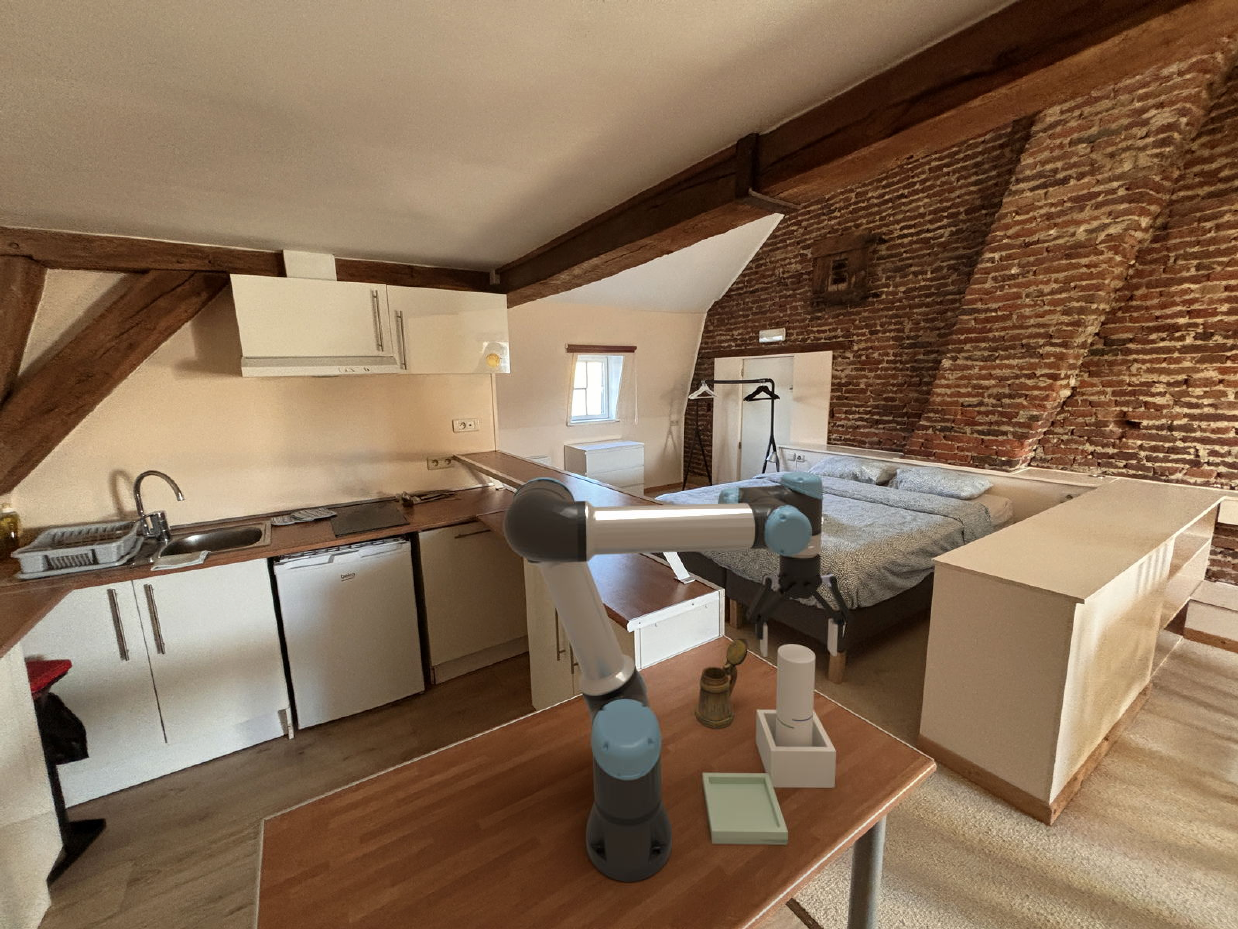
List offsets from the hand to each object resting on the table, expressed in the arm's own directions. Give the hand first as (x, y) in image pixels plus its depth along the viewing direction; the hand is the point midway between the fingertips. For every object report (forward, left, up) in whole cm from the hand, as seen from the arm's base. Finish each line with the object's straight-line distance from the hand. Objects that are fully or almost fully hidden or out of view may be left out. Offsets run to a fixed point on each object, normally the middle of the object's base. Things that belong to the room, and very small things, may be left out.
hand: (797, 653), depth 99 cm
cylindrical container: (0, 0, -25) cm, 25 cm away
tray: (-13, -12, -25) cm, 31 cm away
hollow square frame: (0, 0, -25) cm, 25 cm away
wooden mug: (-12, +16, -25) cm, 32 cm away
